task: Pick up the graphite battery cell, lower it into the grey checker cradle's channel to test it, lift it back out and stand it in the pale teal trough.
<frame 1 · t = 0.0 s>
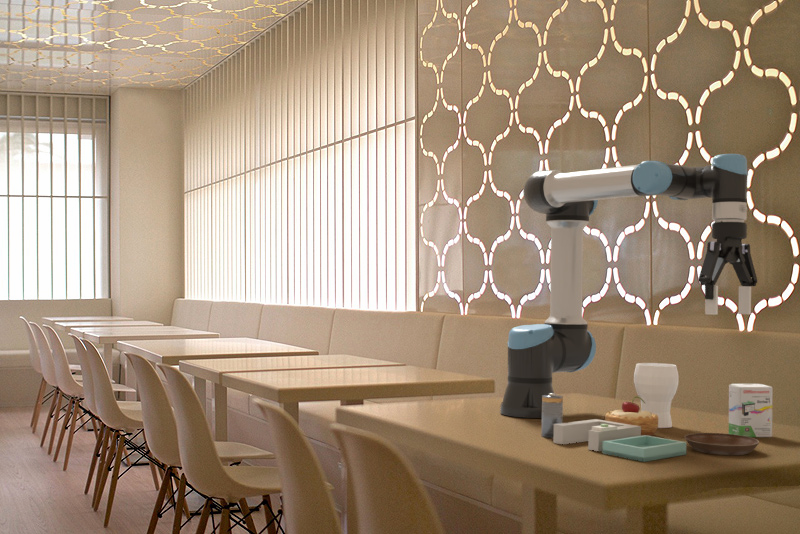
hand: (728, 314, 205), 28 cm above the table, fingers open, 13 cm apart
cell: (551, 436, 201), on the table
pastry: (631, 435, 206), on the table
cup: (655, 426, 219), on the table
saucer: (721, 452, 188), on the table
ink box: (750, 436, 207), on the table
trough: (644, 454, 181), on the table
cradle: (593, 444, 191), on the table
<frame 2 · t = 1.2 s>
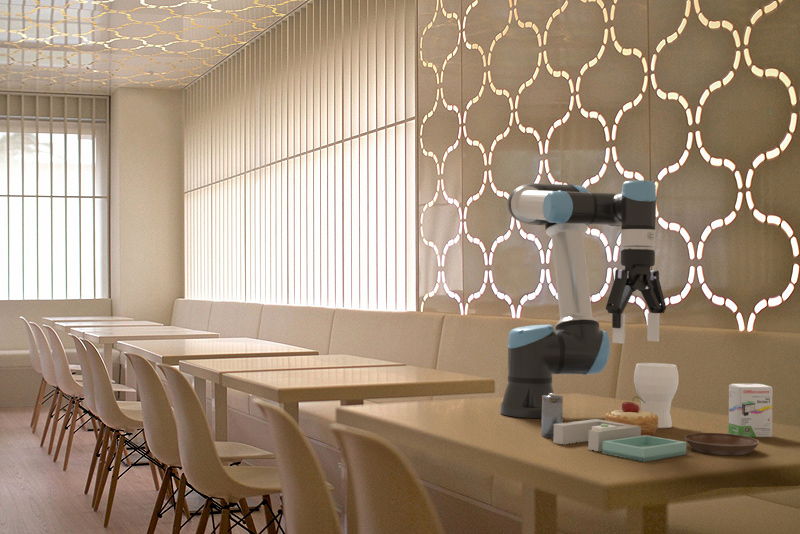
hand: (636, 342, 203), 21 cm above the table, fingers open, 13 cm apart
nothing on the table moved.
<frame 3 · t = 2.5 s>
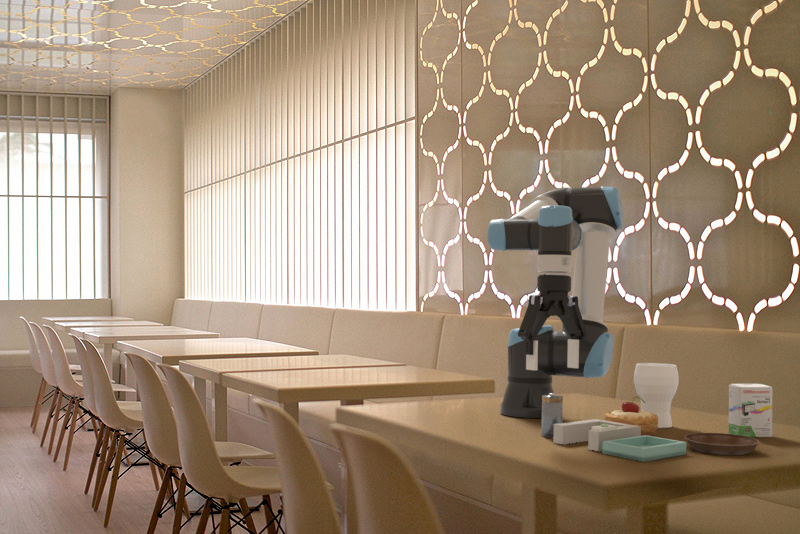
hand: (552, 369, 201), 15 cm above the table, fingers open, 13 cm apart
nothing on the table moved.
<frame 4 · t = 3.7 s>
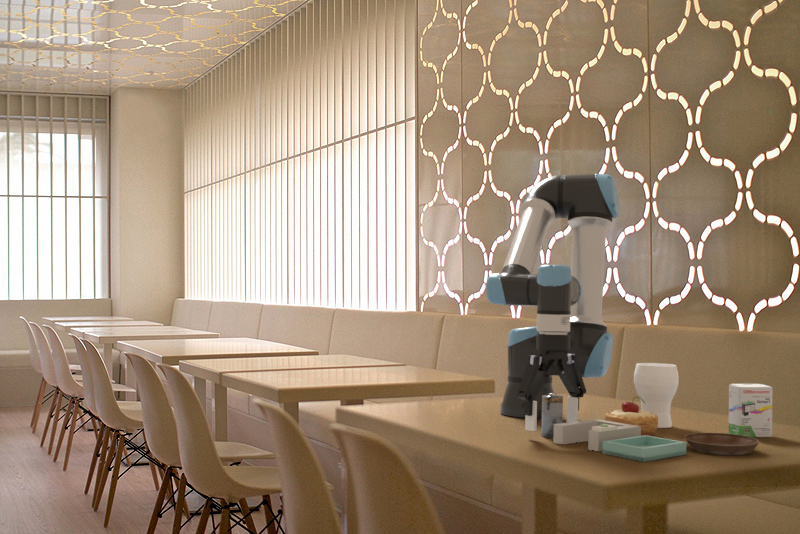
hand: (551, 428, 201), 2 cm above the table, fingers open, 13 cm apart
nothing on the table moved.
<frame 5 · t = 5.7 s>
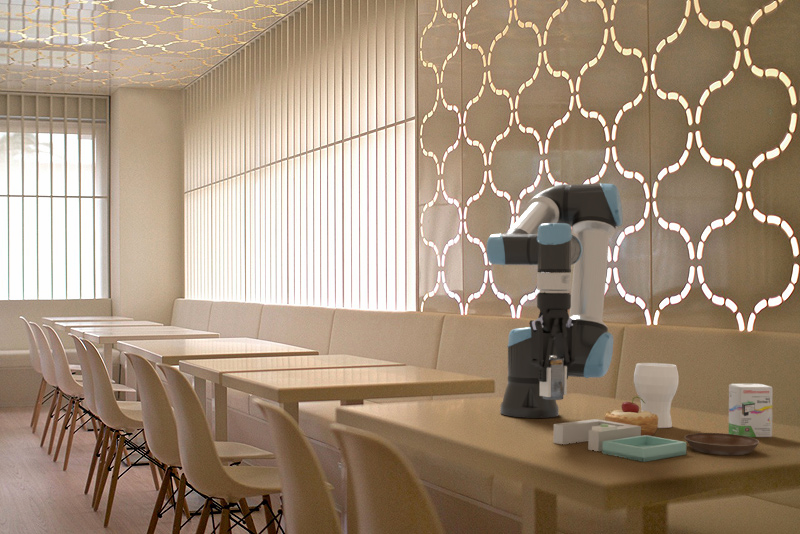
hand: (553, 395, 202), 9 cm above the table, fingers closed on cell, 4 cm apart
cell: (553, 398, 202), point 8 cm above the table, touching gripper
everything else where it was.
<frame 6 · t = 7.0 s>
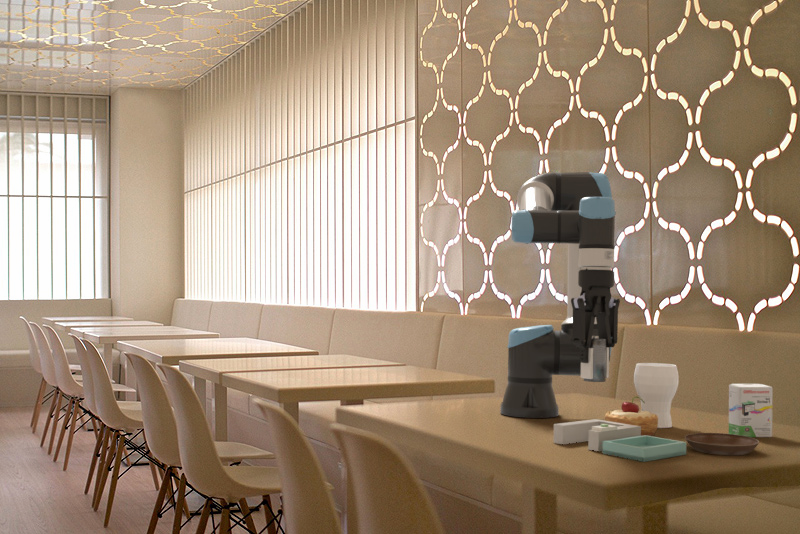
hand: (594, 377, 192), 14 cm above the table, fingers closed on cell, 4 cm apart
cell: (594, 380, 192), point 14 cm above the table, touching gripper
everything else where it was.
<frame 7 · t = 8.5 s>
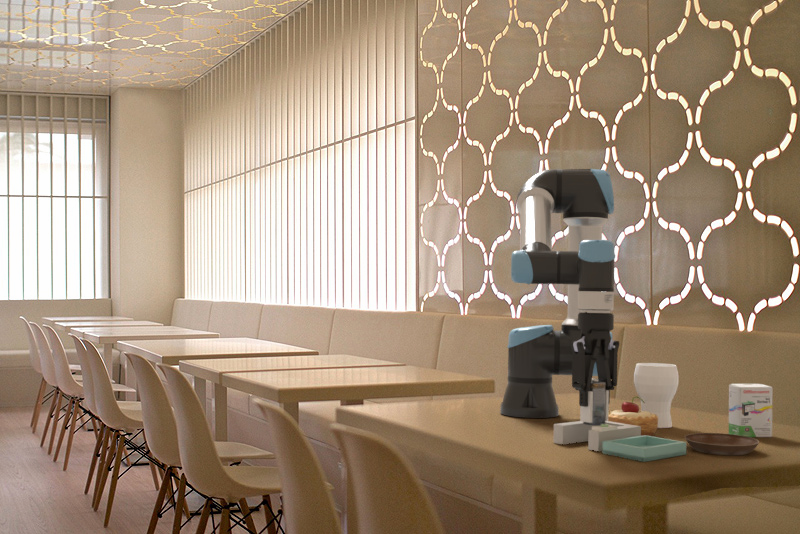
hand: (594, 420, 191), 5 cm above the table, fingers closed on cell, 4 cm apart
cell: (594, 424, 191), point 4 cm above the table, touching gripper
everything else where it was.
when the fingers open (2 cm above the table, at t = 16.0 s): cell stays where it is, resting on trough.
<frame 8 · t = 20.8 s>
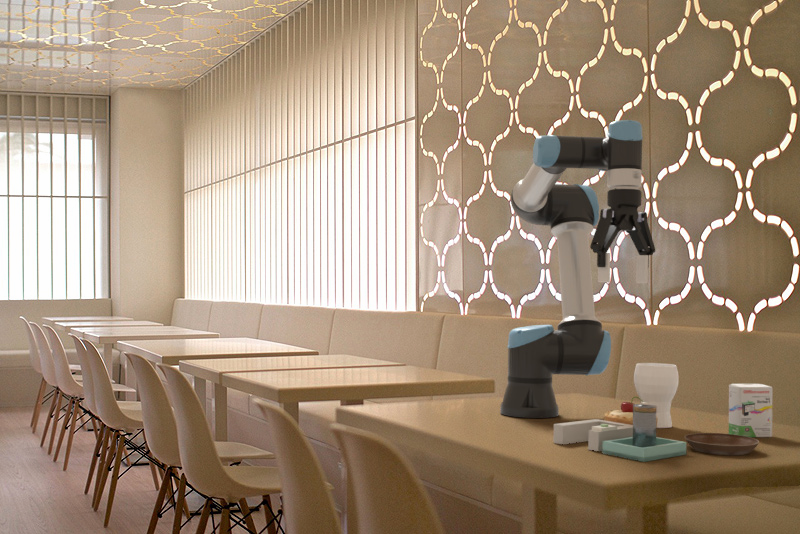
hand: (623, 283, 203), 35 cm above the table, fingers open, 13 cm apart
cell: (644, 450, 181), point 1 cm above the table, touching trough
everything else where it was.
at the end: cell inside the target area on the trough (0.1 cm from its centre), point 0.8 cm above the trough's base; cell tilted 0°; the gripper is holding nothing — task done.
